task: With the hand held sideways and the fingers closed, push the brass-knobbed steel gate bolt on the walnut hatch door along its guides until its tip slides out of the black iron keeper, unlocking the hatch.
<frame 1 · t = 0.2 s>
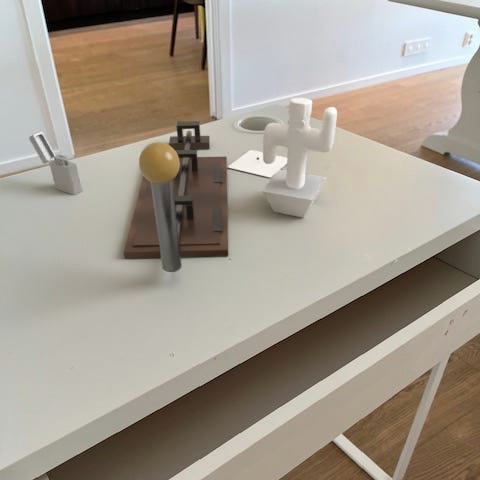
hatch: (183, 203, 75), on the table
coaster: (260, 164, 85), on the table
figurine: (293, 209, 73), on the table
keeper: (189, 146, 90), on the table
bolt: (177, 141, 69), point 9 cm above the table, slide at 0.0 cm
lighter: (62, 188, 79), on the table
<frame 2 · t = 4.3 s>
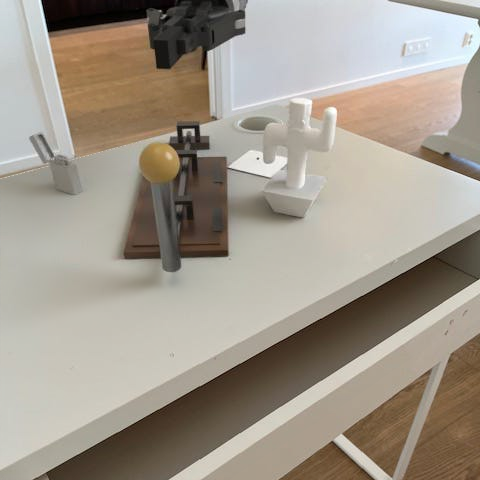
hand: (162, 54, 53), 22 cm above the table, tool horizontal, fingers closed
nothing on the table moved.
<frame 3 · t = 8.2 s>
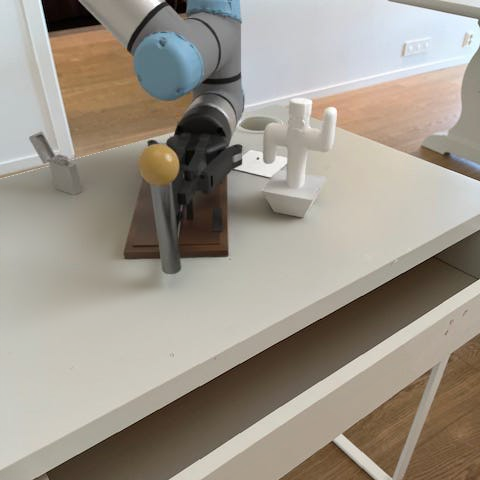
hand: (163, 212, 55), 9 cm above the table, tool horizontal, fingers closed
bolt: (177, 142, 69), point 9 cm above the table, slide at 0.4 cm, touching gripper
everything else where it was.
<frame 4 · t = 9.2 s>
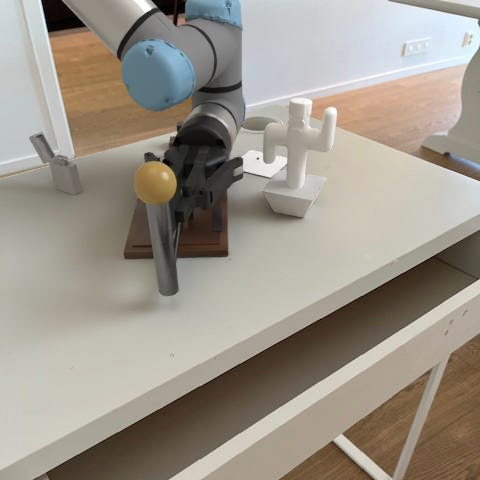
hand: (160, 232, 52), 9 cm above the table, tool horizontal, fingers closed
bolt: (175, 155, 65), point 9 cm above the table, slide at 4.4 cm, touching gripper
everything else where it was.
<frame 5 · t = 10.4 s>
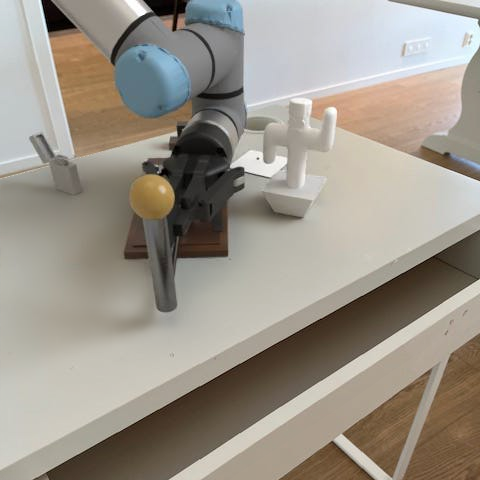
hand: (158, 247, 50), 9 cm above the table, tool horizontal, fingers closed
bolt: (173, 164, 63), point 9 cm above the table, slide at 7.1 cm, touching gripper
everything else where it was.
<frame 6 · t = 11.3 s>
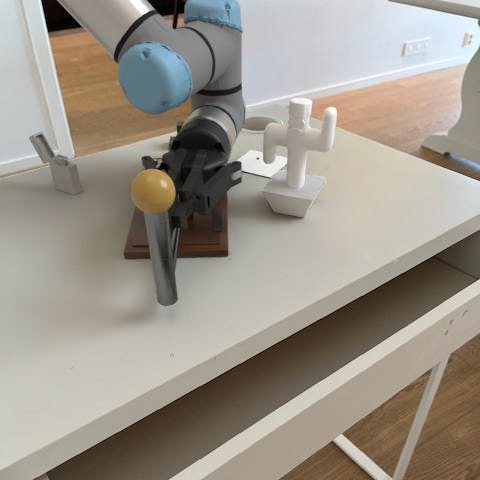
hand: (156, 237, 52), 8 cm above the table, tool horizontal, fingers closed
bolt: (174, 160, 64), point 9 cm above the table, slide at 6.0 cm
everything else where it was.
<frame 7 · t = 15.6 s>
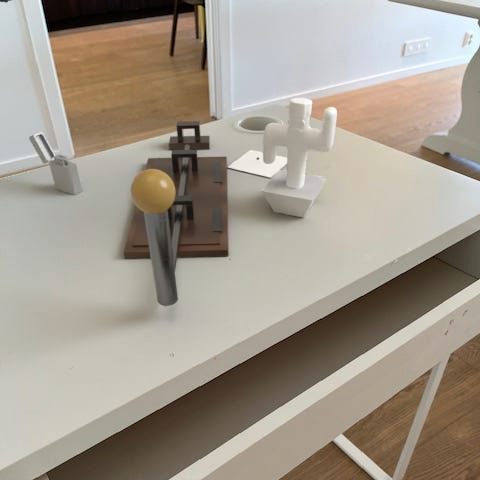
nothing on the table moved.
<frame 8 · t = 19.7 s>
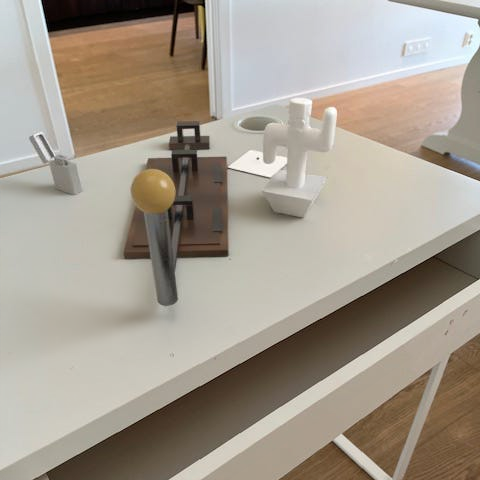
nothing on the table moved.
at the end: bolt slide at 6.0 cm; bolt touching nothing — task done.
